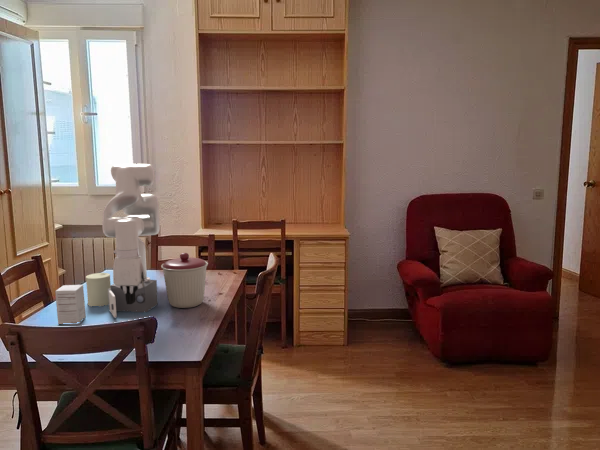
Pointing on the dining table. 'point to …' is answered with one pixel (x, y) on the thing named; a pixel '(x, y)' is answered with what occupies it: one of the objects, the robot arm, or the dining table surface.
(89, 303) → the can
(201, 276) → the canister
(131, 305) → the block
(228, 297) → the dining table surface
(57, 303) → the supplement box
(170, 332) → the dining table surface
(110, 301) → the side door
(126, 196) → the robot arm
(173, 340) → the dining table surface
